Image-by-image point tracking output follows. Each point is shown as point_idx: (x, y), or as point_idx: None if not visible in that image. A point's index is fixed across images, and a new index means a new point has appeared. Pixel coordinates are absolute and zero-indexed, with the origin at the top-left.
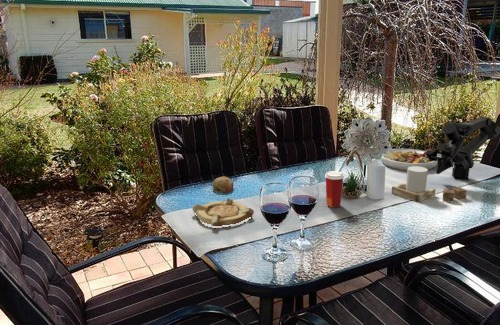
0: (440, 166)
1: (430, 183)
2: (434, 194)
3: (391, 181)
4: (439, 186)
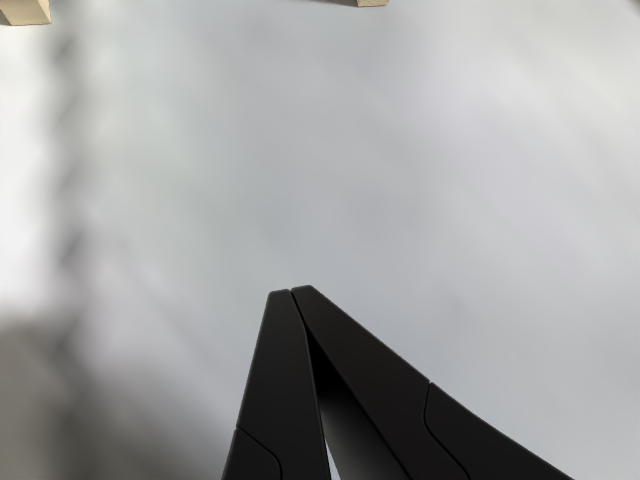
0: (317, 413)
1: (393, 348)
2: (1, 2)
3: (610, 12)
4: (245, 365)
